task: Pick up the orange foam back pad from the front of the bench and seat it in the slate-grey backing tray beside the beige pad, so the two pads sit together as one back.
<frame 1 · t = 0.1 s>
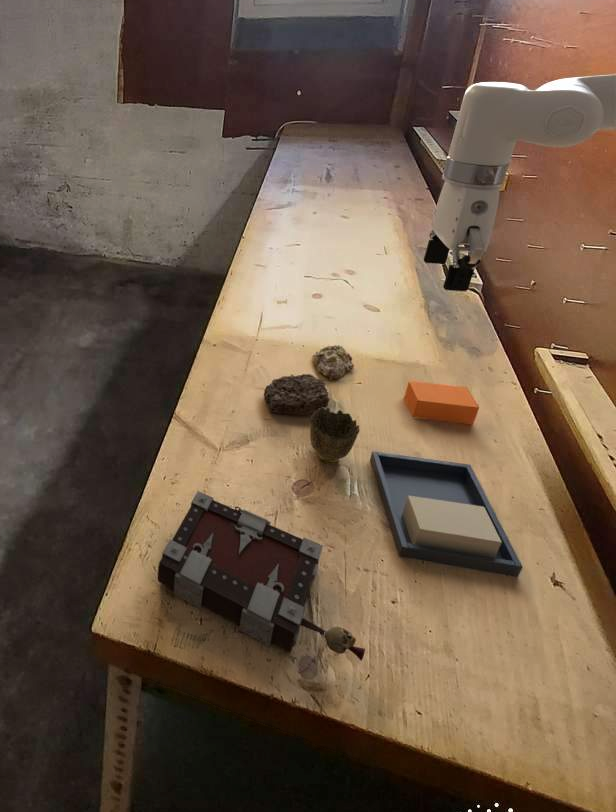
hand: (444, 275, 90), 31 cm above the table, tool pointing down, fingers open, 9 cm apart
beige pad: (445, 536, 81), point 1 cm above the table, touching backing tray
dark brown rough stone: (293, 403, 109), on the table
orange pad: (437, 410, 106), on the table
cup: (326, 458, 96), on the table
mineral rock: (331, 367, 120), on the table
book: (262, 590, 76), on the table
backing tray: (434, 514, 85), on the table
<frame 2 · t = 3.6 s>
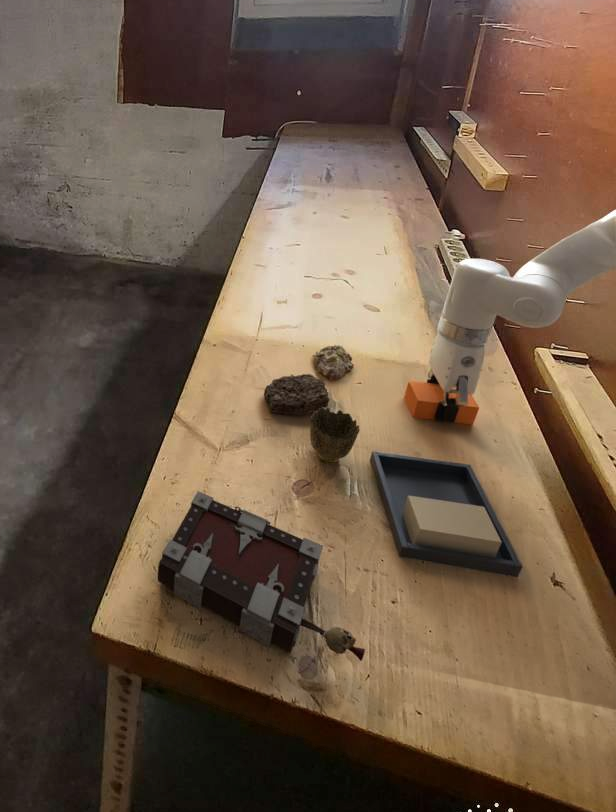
hand: (438, 408, 106), 1 cm above the table, tool pointing down, fingers closed on orange pad, 6 cm apart
orange pad: (437, 410, 106), on the table, touching gripper
everything else where it was.
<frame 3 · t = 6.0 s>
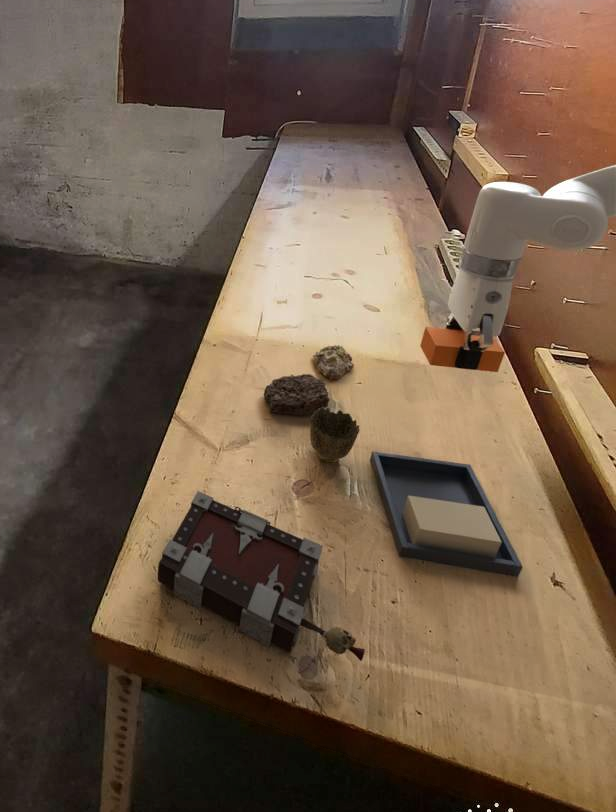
hand: (458, 355, 96), 15 cm above the table, tool pointing down, fingers closed on orange pad, 6 cm apart
orange pad: (457, 358, 96), point 15 cm above the table, touching gripper
everything else where it was.
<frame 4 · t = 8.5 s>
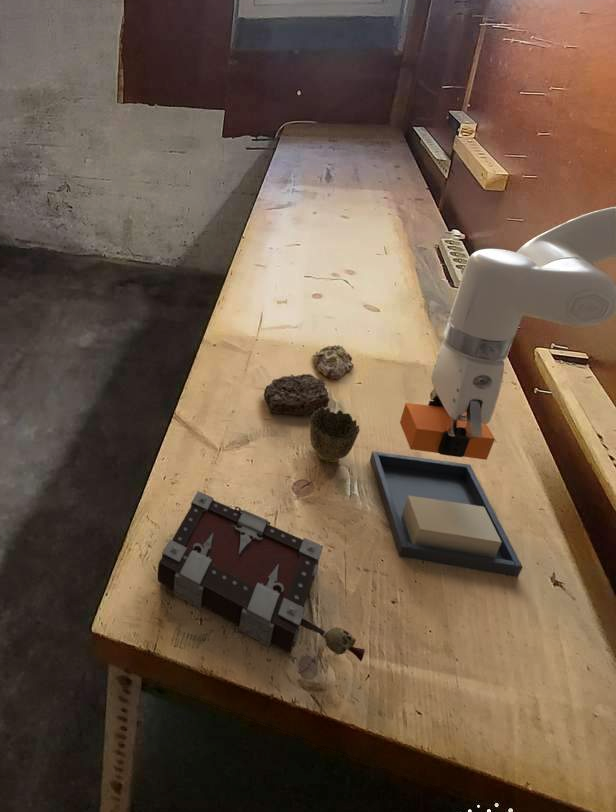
hand: (442, 437, 84), 11 cm above the table, tool pointing down, fingers closed on orange pad, 6 cm apart
orange pad: (441, 440, 85), point 11 cm above the table, touching gripper
everything else where it was.
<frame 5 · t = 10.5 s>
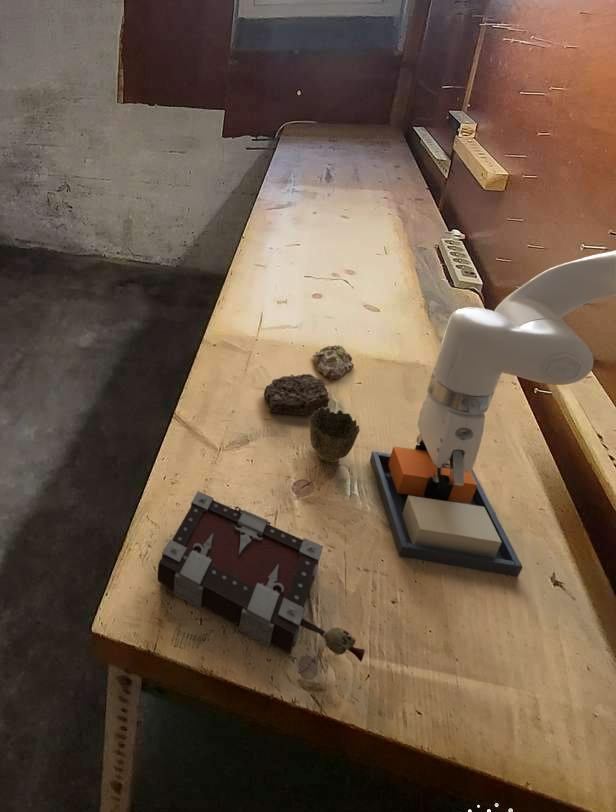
hand: (428, 480, 88), 2 cm above the table, tool pointing down, fingers closed on orange pad, 6 cm apart
orange pad: (427, 483, 89), point 2 cm above the table, touching gripper
everything else where it was.
when the fingers open (3 cm above the table, at t = 13.7 s): orange pad drops 1 cm, resting on backing tray.
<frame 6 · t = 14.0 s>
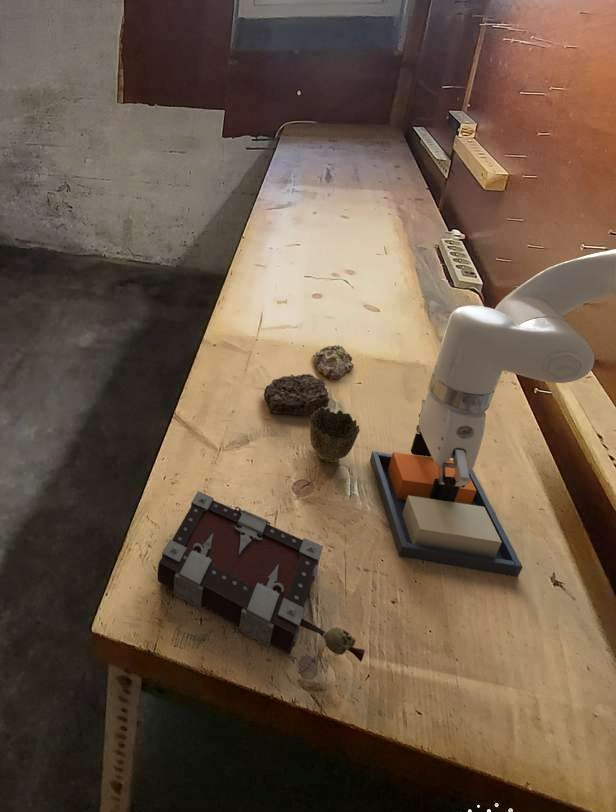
hand: (430, 476, 88), 3 cm above the table, tool pointing down, fingers open, 9 cm apart
orange pad: (426, 489, 89), point 1 cm above the table, touching backing tray
everything else where it was.
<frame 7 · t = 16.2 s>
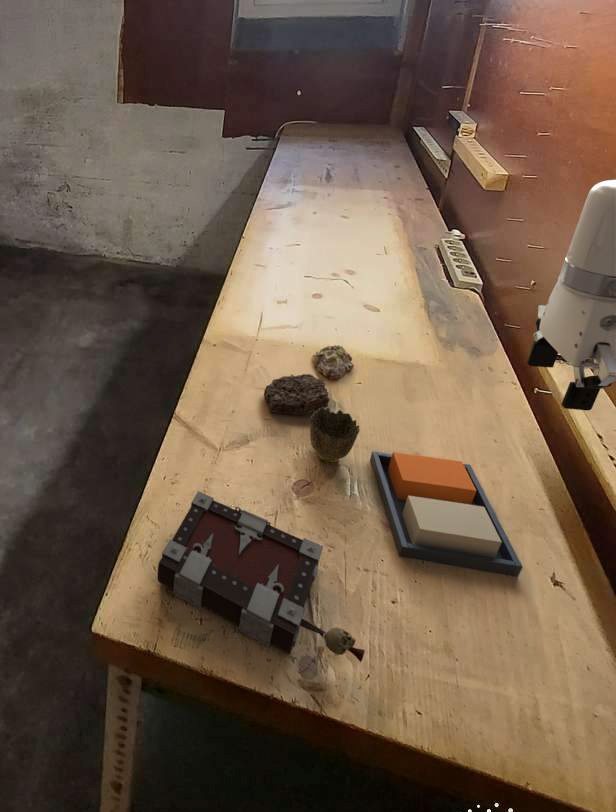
hand: (556, 385, 79), 21 cm above the table, tool pointing down, fingers open, 9 cm apart
nothing on the table moved.
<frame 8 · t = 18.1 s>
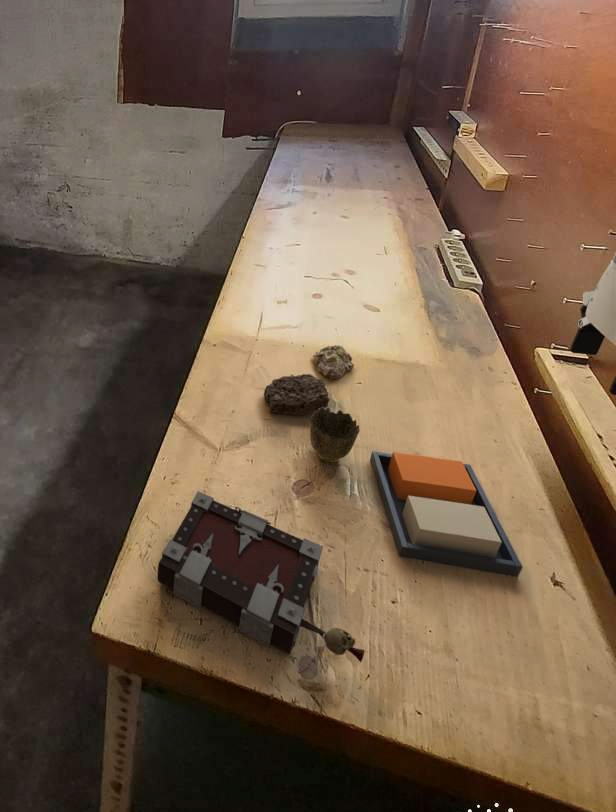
hand: (601, 372, 78), 23 cm above the table, tool pointing down, fingers open, 9 cm apart
nothing on the table moved.
at the end: orange pad 0.3 cm from the target spot in the backing tray, point 0.6 cm above the backing tray's base; orange pad 9.0 cm from the beige pad (horizontally); orange pad tilted 0° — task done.
